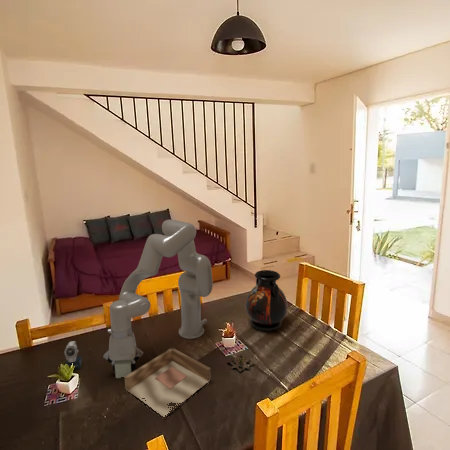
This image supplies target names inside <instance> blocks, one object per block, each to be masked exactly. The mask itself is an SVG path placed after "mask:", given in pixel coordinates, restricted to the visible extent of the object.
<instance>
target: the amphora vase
mask: <svg viewBox="0 0 450 450" xmlns="http://www.w3.org/2000/svg"><path fill="white" fill-rule="evenodd" d="M254 277H255V279H256V281H255V286H254V287H252V289H251V290H250V291H249V292H248V295H247V297H246V301H245V312H246V314H247V316H248V317H249V318H250V321H249V322H250V325H251V327H253V328H254V329H256V330H258V331H261V330H262V332H273V331H272V330H275V331H277V330H279V329H280V328H281V327H282V324H283V320H284V319H285V317H286V316H287V313H288V307H289V306H288V299H287V297H286V295H285V293H284V291H283V290H282V289H281V288H280V287H279V285H278V284H277V281H279V280H280V278H281V274H280V273H279V272H278V271H274V270H271V269H270V270H269V269H263V270H262V269H261V270H258V271H256V272H255V274H254ZM280 326H281V327H280ZM279 327H280V328H279ZM278 328H279V329H278ZM276 329H277V330H276Z"/></svg>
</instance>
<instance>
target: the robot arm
mask: <svg viewBox="0 0 450 450" xmlns="http://www.w3.org/2000/svg"><path fill="white" fill-rule="evenodd" d="M161 230H162V233H163V234H159V233H153V234H150V235H148V237H147V239H146V242H145V244H144V247H143V250H142V253H141V257H140V259H139V262H138V265H137V267H136V268H135V270H134V271H132V272H131V273H130V274H129V276H128V277H127V278H126V279H125V280H124V282H123V284H122V287H121V290H120V293H119V296H118V300H115V301H113V302H112V303H111V304H110V305H109V315H110V328H108V329H107V333H108V334H110V336H109V340H108V341H109V342H108V350H107V351H105V353H104V354H103V359H105V360H107V362H108V363H110V364H111V366H112V371H113V372H114V375H115V363H116V361H118V360H131V362H132V363H131V370H132V372H133V371H135V370H136V368H137V365H136V362H137V361H139V360H140V358H142V356H143V355H144V351H142V350H141V349H140V348H138V347H137V343H136V342H137V341H136V337H135V334H134V332H133V331H132V319H133V318H137V317H141V316H144V315H145V314H147V313H148V312H149V310H151V309H150V308H151V302H150V300H149V299H148V298H146V297H145V296H142V295H140V294H138V293H136V292H137V290H138V286H139V285H140V283H141V282H143V280H145V279H147V278H149V277H153V276H156V275H157V274H158V273H159V269H160V266H161V264H162V260H163V257H166V258H172V257H174V256H176V255H177V259H178V265H179V268H180V269H181V270H182V271H184V272H182V273H181V274H180V275H179V277H178V283H177V284H178V290H179V293H180V307H181V308H180V312H181V315H180V316H181V326H180V327H179V329H178V335H179V336H180V337H182V338H183V339H187V340H192V339H193V340H194V339H198V338H200V337H201V336H202V335H204V333H205V328H204V326H203V325H204V324H206V323H207V322H208V320H207V319H206V318H204V319H202V316H201V315H202V313H201V312H202V311H201V309H202V306H201V297H203V298H205V297H208V296H210V295H211V293H212V291H213V286H214V285H213V284H214V283H213V274H212V273H213V272H212V264H211V261H210V258H208V256H206V255H204V254H200V253H198V252H197V251H196V244H195V241H194V240H195V238H196V235H197V228H196V227H195V226H194V224H192V223H191V222H186V221H185V222H184V221H181V220H176V219H166V220H164V221H163V222H162V224H161Z"/></svg>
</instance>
